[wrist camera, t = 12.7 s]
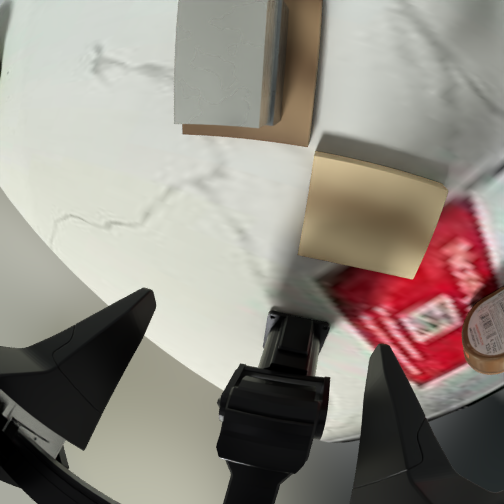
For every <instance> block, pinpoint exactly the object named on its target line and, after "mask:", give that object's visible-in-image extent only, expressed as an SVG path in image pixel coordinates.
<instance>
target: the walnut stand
mask: <svg viewBox="0 0 504 504" xmlns="http://www.w3.org/2000/svg"><path fill="white" fill-rule="evenodd" d="M284 2H285V3H286V5H287V7H288V8H289V18H288V33H287V47H286V61H285V74H284V87H283V99H282V111H281V121H280V122H279V123H277V124H275V125H274V126H268V125H264V126H262V127H260V128H250V127H239V126H225V125H205V124H182V130H183V134H188V135H207V136H221V137H233V138H244V139H253V140H262V141H269V142H277V143H284V144H291V145H297V146H303V147H308V145H309V142H310V134H311V126H312V117H313V109H314V100H315V90H316V81H317V70H318V60H319V48H320V35H321V21H322V4H323V0H284Z"/></svg>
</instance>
